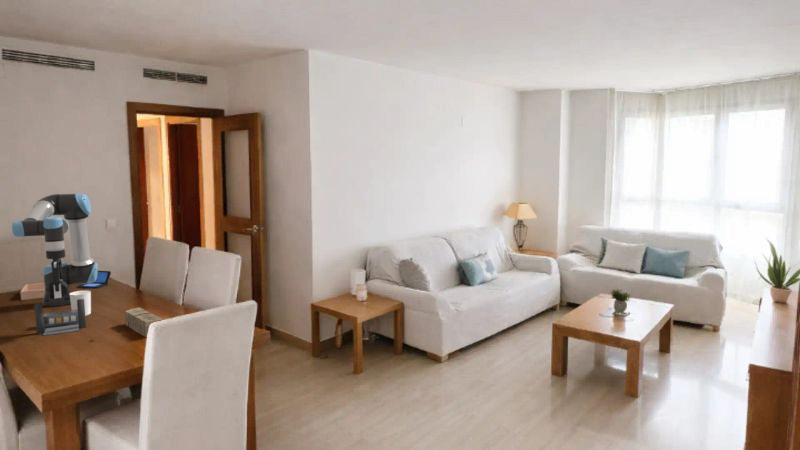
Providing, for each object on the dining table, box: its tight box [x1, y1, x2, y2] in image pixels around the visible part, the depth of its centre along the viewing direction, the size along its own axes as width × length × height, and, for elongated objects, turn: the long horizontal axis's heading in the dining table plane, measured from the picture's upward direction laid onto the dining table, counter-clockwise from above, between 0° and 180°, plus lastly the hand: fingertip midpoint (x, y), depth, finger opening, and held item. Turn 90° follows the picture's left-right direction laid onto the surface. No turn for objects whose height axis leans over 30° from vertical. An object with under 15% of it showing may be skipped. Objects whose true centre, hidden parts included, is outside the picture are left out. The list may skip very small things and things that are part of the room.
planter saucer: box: [20, 282, 45, 301], centre depth 315 cm, size 21×20×5 cm
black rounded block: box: [49, 280, 67, 299], centre depth 244 cm, size 10×7×7 cm
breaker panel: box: [43, 309, 79, 329], centre depth 254 cm, size 8×16×6 cm, turn 119°
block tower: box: [124, 307, 164, 338], centre depth 247 cm, size 8×8×29 cm
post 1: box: [34, 303, 45, 335], centre depth 241 cm, size 3×3×14 cm
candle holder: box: [69, 290, 92, 317], centre depth 271 cm, size 10×10×12 cm
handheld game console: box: [76, 270, 112, 290], centre depth 336 cm, size 16×13×9 cm
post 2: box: [77, 299, 87, 329], centre depth 249 cm, size 3×3×14 cm
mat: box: [42, 324, 80, 337], centre depth 246 cm, size 11×14×1 cm
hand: (59, 295), depth 244 cm, fingers closed on black rounded block, 10 cm apart
